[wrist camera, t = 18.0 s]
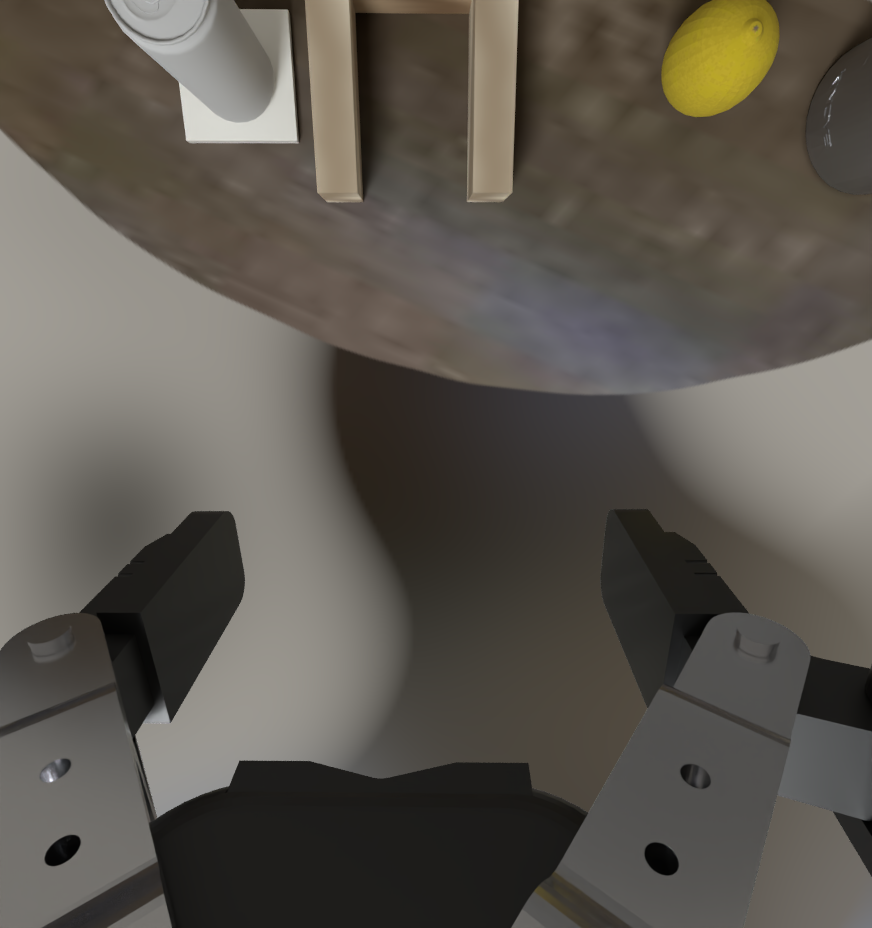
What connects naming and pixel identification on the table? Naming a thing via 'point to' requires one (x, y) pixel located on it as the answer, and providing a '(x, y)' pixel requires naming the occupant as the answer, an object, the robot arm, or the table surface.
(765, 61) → the lemon
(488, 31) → the lane rack
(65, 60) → the table surface
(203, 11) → the beverage can
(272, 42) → the tile
